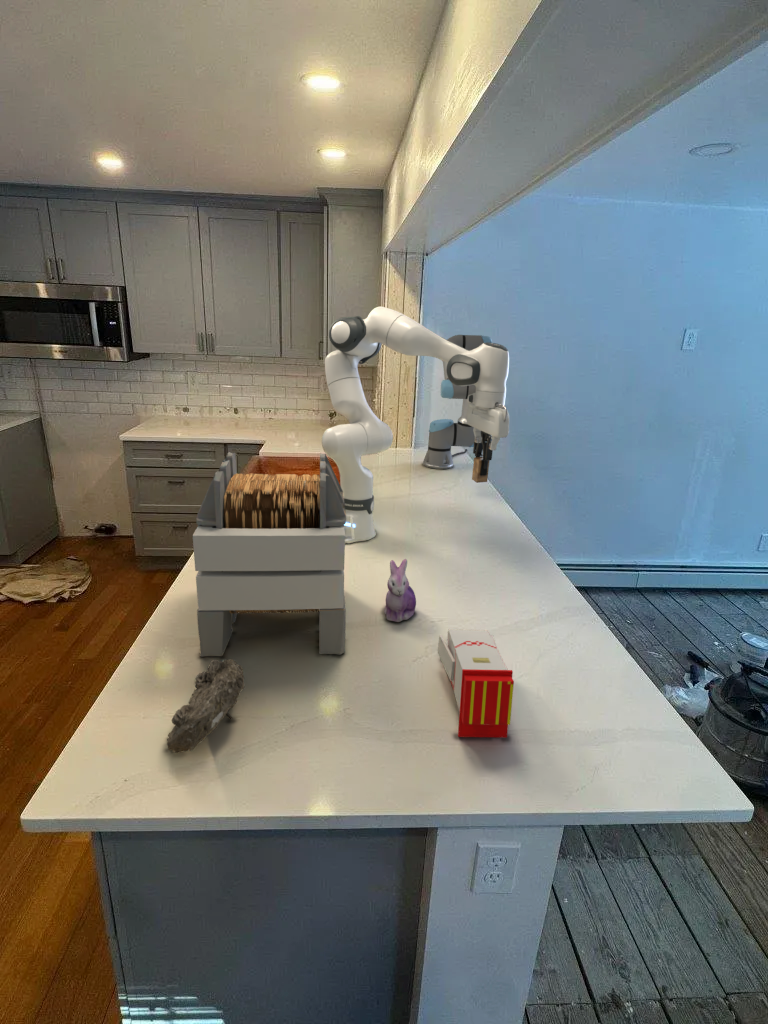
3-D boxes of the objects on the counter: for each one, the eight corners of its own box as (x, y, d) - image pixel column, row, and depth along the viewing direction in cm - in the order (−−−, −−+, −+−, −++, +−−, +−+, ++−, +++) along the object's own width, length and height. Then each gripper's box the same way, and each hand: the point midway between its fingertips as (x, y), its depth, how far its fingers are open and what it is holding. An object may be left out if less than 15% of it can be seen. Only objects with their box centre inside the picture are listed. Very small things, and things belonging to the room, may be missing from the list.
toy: (488, 613, 130) (523, 677, 101) (484, 667, 133) (517, 744, 104) (435, 612, 130) (455, 676, 101) (432, 666, 133) (451, 743, 103)
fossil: (192, 660, 117) (244, 628, 112) (224, 691, 120) (276, 661, 115) (142, 746, 98) (202, 712, 93) (182, 779, 101) (242, 748, 96)
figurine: (392, 627, 141) (395, 572, 136) (374, 608, 149) (376, 556, 144) (425, 619, 145) (429, 566, 140) (405, 601, 154) (408, 550, 149)
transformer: (222, 587, 157) (213, 443, 143) (340, 586, 160) (343, 445, 147) (197, 659, 125) (183, 482, 111) (345, 655, 129) (349, 484, 115)
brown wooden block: (487, 482, 239) (489, 459, 236) (476, 482, 237) (479, 460, 234) (482, 478, 243) (484, 457, 240) (471, 479, 242) (474, 457, 238)
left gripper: (517, 406, 159) (511, 454, 164) (483, 395, 177) (479, 438, 182) (497, 406, 157) (492, 454, 162) (465, 395, 175) (461, 439, 180)
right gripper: (505, 422, 224) (498, 479, 232) (484, 414, 240) (478, 467, 248) (488, 423, 222) (481, 480, 230) (468, 414, 238) (463, 468, 246)
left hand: (484, 446), depth 172 cm, fingers open, 8 cm apart
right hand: (480, 473), depth 239 cm, fingers closed on brown wooden block, 5 cm apart
